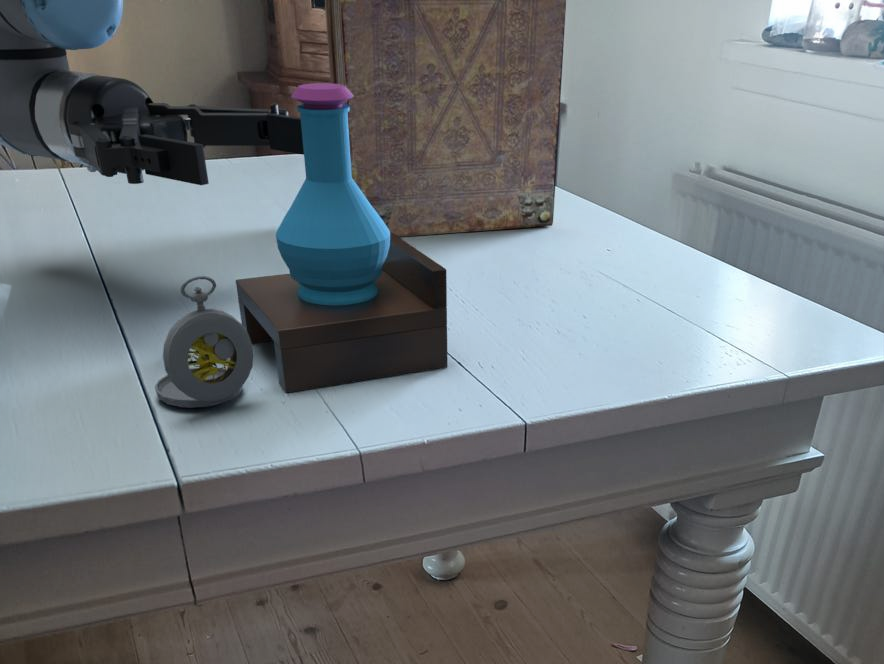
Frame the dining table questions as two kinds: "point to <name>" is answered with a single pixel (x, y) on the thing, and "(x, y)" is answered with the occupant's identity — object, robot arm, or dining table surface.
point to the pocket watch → (204, 356)
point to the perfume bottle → (331, 209)
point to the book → (451, 109)
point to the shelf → (353, 324)
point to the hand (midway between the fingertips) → (268, 151)
